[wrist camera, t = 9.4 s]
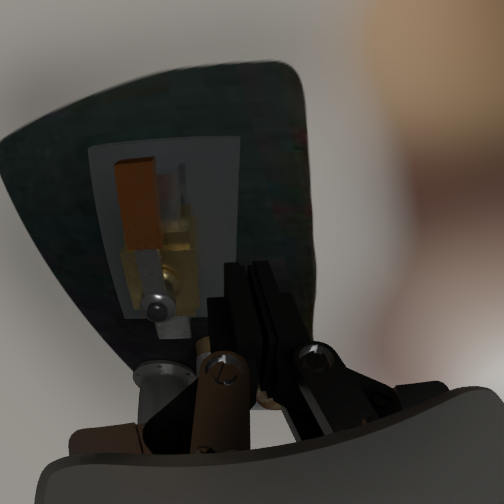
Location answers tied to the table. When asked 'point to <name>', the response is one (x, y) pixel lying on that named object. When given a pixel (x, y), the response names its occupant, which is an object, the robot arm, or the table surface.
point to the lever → (144, 233)
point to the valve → (172, 253)
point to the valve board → (197, 194)
